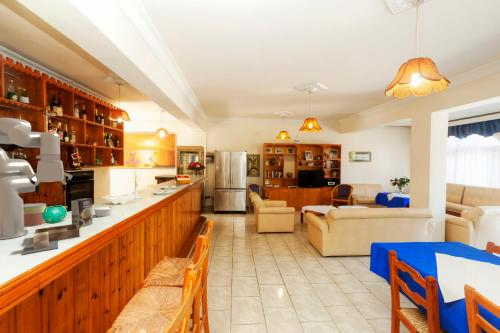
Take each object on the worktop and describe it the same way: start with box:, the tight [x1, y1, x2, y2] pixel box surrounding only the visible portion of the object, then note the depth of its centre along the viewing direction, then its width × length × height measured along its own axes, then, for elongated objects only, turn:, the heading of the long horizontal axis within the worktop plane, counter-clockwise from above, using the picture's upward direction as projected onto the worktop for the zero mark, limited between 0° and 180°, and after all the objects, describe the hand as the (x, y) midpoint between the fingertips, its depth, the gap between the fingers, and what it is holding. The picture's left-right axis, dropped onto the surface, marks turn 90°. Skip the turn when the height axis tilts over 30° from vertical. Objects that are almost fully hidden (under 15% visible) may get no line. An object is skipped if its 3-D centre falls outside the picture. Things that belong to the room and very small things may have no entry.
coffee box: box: [71, 197, 94, 229], centre depth 150 cm, size 9×6×16 cm
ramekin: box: [93, 206, 113, 218], centre depth 177 cm, size 11×11×5 cm
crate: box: [34, 223, 81, 242], centre depth 130 cm, size 18×14×4 cm
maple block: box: [33, 232, 49, 249], centre depth 114 cm, size 5×5×6 cm
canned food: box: [23, 202, 47, 228], centre depth 154 cm, size 11×11×12 cm
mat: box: [22, 240, 59, 256], centre depth 115 cm, size 12×12×1 cm
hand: (51, 193), depth 122 cm, fingers open, 9 cm apart
